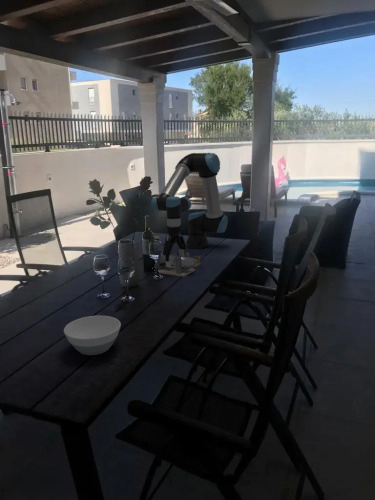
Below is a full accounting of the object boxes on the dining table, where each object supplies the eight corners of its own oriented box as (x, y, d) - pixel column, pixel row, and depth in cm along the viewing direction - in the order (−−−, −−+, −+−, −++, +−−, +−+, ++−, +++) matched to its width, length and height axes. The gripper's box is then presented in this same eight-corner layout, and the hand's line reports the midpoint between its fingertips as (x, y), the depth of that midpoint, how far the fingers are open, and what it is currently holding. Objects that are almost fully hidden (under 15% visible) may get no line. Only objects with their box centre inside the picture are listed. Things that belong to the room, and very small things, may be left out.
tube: (155, 265, 240) (155, 254, 238) (161, 262, 245) (161, 252, 244) (189, 270, 229) (189, 259, 228) (195, 267, 234) (195, 256, 233)
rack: (164, 264, 252) (164, 256, 251) (172, 260, 260) (172, 253, 259) (192, 268, 243) (192, 260, 242) (200, 264, 251) (200, 256, 250)
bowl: (133, 346, 153) (132, 324, 151) (87, 368, 139) (85, 344, 137) (99, 331, 165) (98, 311, 163) (54, 350, 151) (52, 328, 149)
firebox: (149, 271, 239) (149, 254, 237) (161, 265, 249) (161, 249, 247) (183, 276, 228) (183, 258, 226) (195, 270, 238) (194, 253, 236)
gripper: (180, 221, 244) (181, 257, 249) (155, 229, 223) (156, 268, 228) (191, 222, 240) (192, 258, 245) (167, 230, 219) (168, 270, 225)
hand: (175, 263), depth 237 cm, fingers open, 13 cm apart
